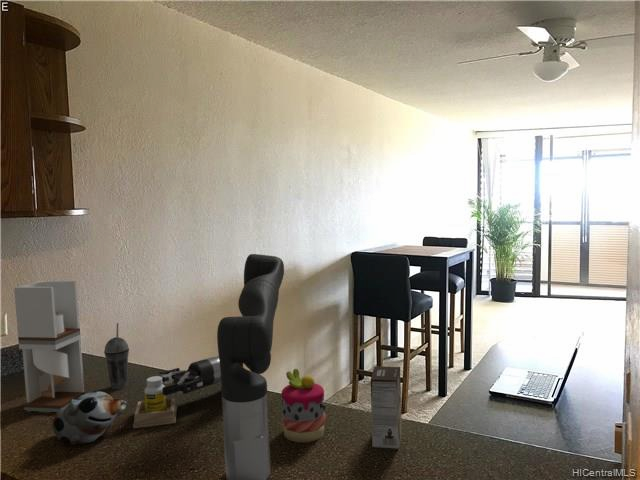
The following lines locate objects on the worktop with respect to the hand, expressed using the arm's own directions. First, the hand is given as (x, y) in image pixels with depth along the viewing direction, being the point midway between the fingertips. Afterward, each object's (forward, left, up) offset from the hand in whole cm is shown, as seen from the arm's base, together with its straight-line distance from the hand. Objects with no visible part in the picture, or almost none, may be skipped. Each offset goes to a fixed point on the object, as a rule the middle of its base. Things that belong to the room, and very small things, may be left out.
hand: (155, 387), depth 136 cm
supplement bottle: (0, 0, -7) cm, 7 cm away
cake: (-21, -36, -8) cm, 42 cm away
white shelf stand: (+18, +29, -8) cm, 35 cm away
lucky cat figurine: (-6, +15, -8) cm, 18 cm away
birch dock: (0, 0, -8) cm, 8 cm away
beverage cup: (+27, +13, -8) cm, 31 cm away
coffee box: (-30, -54, -8) cm, 62 cm away
